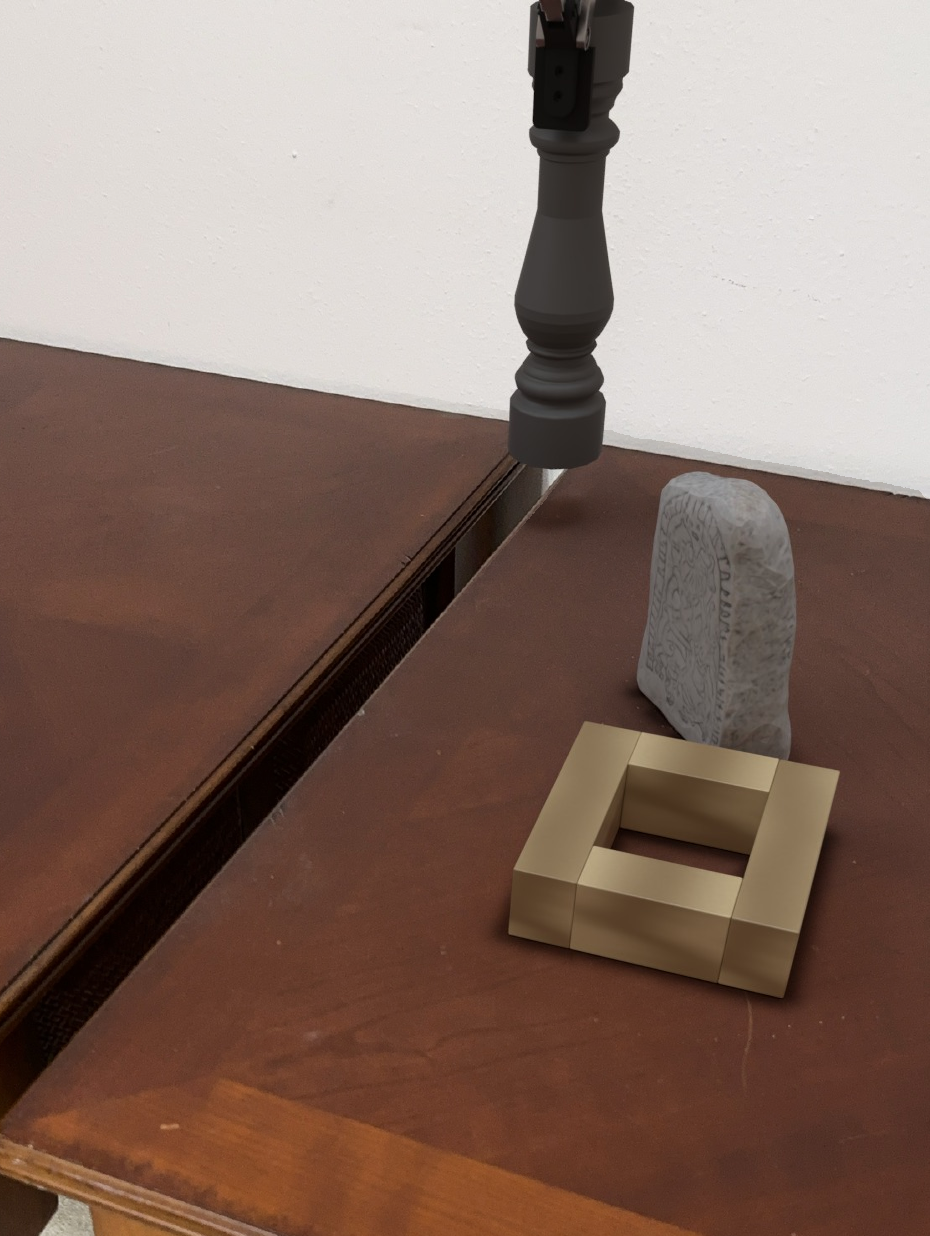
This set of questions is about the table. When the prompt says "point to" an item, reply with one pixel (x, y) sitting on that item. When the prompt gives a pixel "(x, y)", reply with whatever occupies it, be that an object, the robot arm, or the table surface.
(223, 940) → the table surface
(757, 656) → the decorative stone
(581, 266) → the candle holder
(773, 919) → the socket stand
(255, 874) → the table surface
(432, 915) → the table surface
